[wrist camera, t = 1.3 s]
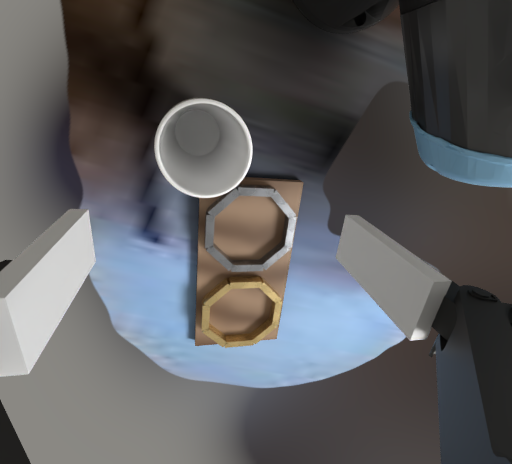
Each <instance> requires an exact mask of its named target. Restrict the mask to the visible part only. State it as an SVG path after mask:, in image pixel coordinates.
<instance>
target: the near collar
mask: <svg viewBox="0 0 512 464" xmlns="http://www.w3.org/2000/svg"><path fill="white" fill-rule="evenodd" d="M239 196H261V197H271V198H272V199H273V200H274V201H275V202H276V204H277V205H278V206H279V207H280V208H281V210H282V211H283V212H284V213H285V214H286V215H285V221H284V228H283V234H282V241H281V242H280V243H279V244H278V245H276V246H275V247H274V248H273V249H272V250H270V251H269V252H268V253H267V254H266V255H264V256H263V257H262V258H261V259H249V260H232V259H230V258H229V257H228V256H227V255H226V254H225V253H224V252H223V251H222V250H221V249H220V248H219V247H218V246H217V245H216V244H215V243H213V241H214V223H215V216H217V215H218V214H219V213H220V212H221V211H222V210H224V209H225V208H226V207H227V206H228V205H229V204H230V203H232V202H233V201H234V200H235V199H236V198H237V197H239ZM295 215H296V214H295V213H294V211H293V210H292V209H291V208H290V206H289V205H288V204H287V203H286V201H285V200H284V199H283V198H282V197H281V195H280V194H279V193H278V192H277V190H276V189H275V188H274V187H271V186H265V185H244V184H238V185H237V186H236V187H235V188H234V189H232V190H231V191H229V192H227V193H226V194H223V195H222V196H220V197H219V198H218V199H217V200H216V201H215V202H214V203H212V204H211V205H210V206H209V207H208V208H207V211H206V214H205V239H204V244H205V248H206V251H207V252H208V253H210V254H211V255H212V256H213V257H214V258H215V259H216V260H217V261H218V262H219V263H221V264H222V265H223V266H224V267H225V268H226V269H227V270H228V271H230V270H231V272H247V271H263V268H264V269H265V270H266V269H268V268H269V267H270V266H271V265H272V264H274V263H275V262H276V261H277V260H278V259H280V258H281V257H282V256H283V255H285V254H286V253H287V252H288V251H289V250H290V249H289V248H292V242H293V236H294V230H295V225H296V219H297V217H296V216H295Z"/></svg>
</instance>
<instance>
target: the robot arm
mask: <svg viewBox="0 0 512 464" xmlns="http://www.w3.org/2000/svg"><path fill="white" fill-rule="evenodd" d="M293 1H294V3H295V5H296V6H297V8H298V9H299V10H300V11H301V13H302V14H303V15H304V16H305V17H306V18H307V19H308V20H309V21H310V22H312V23H313V24H314V25H316V26H318V27H319V28H321V29H323V30H326V31H329V32H332V33H338V34H348V33H354V32H358V31H361V30H363V29H366V28H368V27H370V26H373V25H375V24H376V23H378V22H380V21H381V20H383V19H384V18H385V17H387V16H388V15H389V14H390V13H391V12H392V11H394V9H395V8H396V7H397V6H398V5H400V14H401V15H400V17H401V26H402V34H403V42H404V51H405V59H406V68H407V76H408V85H409V93H410V102H411V111H410V121H411V124H412V126H413V127H414V131H415V136H416V142H417V147H418V152H419V155H420V157H421V159H422V160H423V162H424V163H425V164H426V165H427V166H428V167H430V168H431V169H433V170H435V171H438V172H439V174H441V175H443V176H445V177H448V178H451V179H453V180H457V181H461V182H464V183H469V184H476V185H482V186H492V187H512V0H293ZM336 259H337V260H338V261H339V262H340V263H341V264H342V265H343V267H344V268H345V269H346V270H347V271H348V272H349V273H350V274H351V275H352V277H353V278H354V279H355V280H356V281H357V282H358V283H359V284H360V285H361V287H362V288H363V289H364V290H365V291H366V292H367V293H368V294H369V295H370V297H371V298H372V299H373V300H374V301H375V302H376V303H377V304H378V305H379V307H380V308H381V309H382V310H383V311H384V312H385V313H386V314H387V316H388V317H389V318H390V319H391V320H392V321H393V322H394V323H395V324H396V326H397V327H398V328H399V329H400V330H401V331H402V332H403V333H404V334H405V336H406V337H407V338H408V339H409V340H410V341H411V340H422V339H427V336H428V334H429V332H430V330H431V327H433V328H434V329H435V330H436V331H437V332H438V333H439V334H438V336H437V338H436V341H435V343H434V345H433V347H432V349H431V352H430V354H429V356H430V357H432V356H433V354H435V353H436V365H437V384H438V385H437V386H438V408H439V429H440V449H441V450H440V451H441V464H512V304H507V303H501V301H500V300H499V299H498V298H497V297H496V296H495V295H493V294H491V293H490V292H488V291H486V290H483V289H480V288H478V287H474V286H468V285H463V286H458V285H457V284H456V283H454V282H453V281H451V280H450V279H448V278H447V277H446V276H444V275H443V274H441V273H440V272H438V271H437V270H436V269H434V268H433V267H431V266H430V265H429V264H427V263H426V262H424V261H423V260H422V259H420V258H418V257H417V256H415V255H414V254H412V253H411V252H410V251H408V250H407V249H405V248H404V247H403V246H401V245H400V244H398V243H397V242H395V241H394V240H393V239H391V238H390V237H388V236H387V235H385V234H384V233H383V232H381V231H380V230H378V229H377V228H376V227H374V226H373V225H371V224H370V223H369V222H367V221H366V220H364V219H363V218H361V217H360V216H358V215H346V217H345V221H344V225H343V229H342V234H341V238H340V242H339V246H338V250H337V255H336ZM95 262H96V259H95V252H94V246H93V239H92V232H91V225H90V218H89V212H88V209H69V210H68V211H67V212H66V213H65V214H64V215H63V216H62V217H60V218H59V219H58V220H57V221H56V222H55V223H54V224H53V225H51V226H50V227H49V228H48V229H47V230H46V231H45V232H44V233H43V234H42V235H40V236H39V237H38V238H37V239H36V240H35V241H34V242H33V243H31V244H30V245H29V246H28V247H27V248H26V249H25V250H24V251H23V252H21V253H20V254H19V255H18V256H17V257H16V258H15V259H14V260H5V261H2V262H0V377H2V376H14V375H25V374H29V373H30V371H31V369H32V368H33V366H34V364H35V363H36V361H37V359H38V358H39V356H40V354H41V353H42V351H43V349H44V348H45V346H46V344H47V343H48V341H49V339H50V338H51V336H52V334H53V332H54V331H55V329H56V327H57V326H58V324H59V322H60V321H61V319H62V317H63V316H64V314H65V312H66V311H67V309H68V307H69V306H70V304H71V302H72V301H73V299H74V297H75V296H76V294H77V292H78V290H79V289H80V287H81V285H82V284H83V282H84V280H85V279H86V277H87V275H88V274H89V272H90V270H91V269H92V267H93V265H94V264H95ZM0 464H31V463H30V461H29V459H28V457H27V455H26V453H25V451H24V448H23V446H22V444H21V442H20V440H19V438H18V436H17V434H16V432H15V430H14V428H13V426H12V423H11V421H10V419H9V417H8V415H7V413H6V411H5V409H4V407H3V405H2V403H1V400H0Z"/></svg>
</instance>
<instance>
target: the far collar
mask: <svg viewBox="0 0 512 464" xmlns="http://www.w3.org/2000/svg"><path fill="white" fill-rule="evenodd" d="M243 288H260V289H261V290H262V291H263V292H264V293H265V294H266V295H267V296H269V297H270V298H271V299H272V305H271V312H270V318H269V319H268V320H266V321H265V322H264V323H263V324H261V325H260V326H259V327H258V328H256V329H255V330H254V331H253V332H251V333H247V334H234V335H225V334H223V333H222V332H221V331H219V330H218V329H217V328H215V327H214V326H213V325H211V324H210V323H209V316H210V306H211V305H213V304H214V303H215V302H216V301H218V300H219V299H220V298H221V297H222V296H224V295H225V294H226V293H227V292H228V291H230V290H231V289H243ZM281 306H282V299H281V297H280V295H279V293H278V292H277V291H275V290H274V289H273V288H272V287H271V286H270V285H269V284H268V283H267V282H266V281H265V280H264V279H263V278H262V277H259V276H240V277H229V280H228V279H227V278H225V279H224V280H223V281H222V282H221V283H220V284H218V285H217V286H216V287H215V288H214V289H212V290H211V291H210V292H209V293H208V294H206V295H205V296H204V297H203V299H202V313H201V329H202V333H204V334H205V335H207V336H208V337H209V338H211V339H212V340H214V341H215V342H216V343H218V344H219V345H220V346H222V347H224V346H225V348H227V347H238V346H249V345H253V343H254V344H256V343H258V342H259V341H260V340H261V339H263V338H264V337H265V336H266V335H268V334H269V333H270V332H271V331H273V330H274V329H275V328H276V327H277V325H278V324H279V318H280V312H281Z"/></svg>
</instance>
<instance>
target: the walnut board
mask: <svg viewBox="0 0 512 464" xmlns="http://www.w3.org/2000/svg"><path fill="white" fill-rule="evenodd" d="M239 184H244V185H265V186H271V187H274V188H275V189H276V190H277V192H278V193H279V194H280V195H281V197H282V198H283V199H284V200H285V201H286V203H287V204H288V205H289V206H290V208H291V209H292V210H293V211H294V213H295V214H296V215H295V216H296V217H298V211H299V205H300V199H301V194H302V188H303V182H302V181H300V180H287V179H269V178H251V177H244V178H243V180H242V181H241V182H240V183H239ZM220 196H222V195H220ZM220 196H217V197H212V198H199V224H198V257H197V290H196V323H195V346H201V345H212V344H218V343H216V342H215V341H214V340H212V339H211V338H209V337H208V336H207V335H205V334H204V333H202V329H201V313H202V299H203V297H204V296H205V295H206V294H208V293H209V292H210V291H211V290H212V289H214V288H215V287H216V286H217V285H218V284H220V283H221V282H222V281H223V280H224V279H225V278H227V279H228V280H229V277H240V276H259V277H262V278H263V279H264V280H265V281H266V282H267V283H268V284H269V285H270V286H271V287H272V288H273V289H274V290H275V291H277V292H278V293H279V295H280V297H281V299H282V304H283V298H284V292H285V287H286V281H287V275H288V269H289V263H290V258H291V252H292V248H289V249H290V250H289V251H288V252H287V253H286V254H285V255H283V256H282V257H281V258H280V259H278V260H277V261H276V262H275V263H274V264H272V265H271V266H270V267H269V268H268V269H266V270H265V269H264V268H263V271H247V272H231V270H230V271H228V270H227V269H226V268H225V267H224V266H223V265H222V264H221V263H219V262H218V261H217V260H216V259H215V258H214V257H213V256H212V255H211V254H210V253H208V252H207V251H206V248H205V244H204V239H205V214H206V211H207V208H208V207H209V206H210V205H211V204H212V203H214V202H215V201H216V200H217V199H218V198H219V197H220ZM285 215H286V214H285V213H284V212H283V211H282V210H281V208H280V207H279V206H278V205H277V204H276V202H275V201H274V200H273V199H272V198H271V197H261V196H239V197H237V198H236V199H235V200H234V201H233V202H232V203H230V204H229V205H228V206H227V207H226V208H225V209H224V210H222V211H221V212H220V213H219V214H218V215H217V216H215V223H214V241H213V243H215V244H216V245H217V246H218V247H219V248H220V249H221V250H222V251H223V252H224V253H225V254H226V255H227V256H228V257H229V258H230V259H232V260H249V259H261V258H262V257H263V256H264V255H266V254H267V253H268V252H269V251H270V250H272V249H273V248H274V247H275V246H276V245H278V244H279V243H280V242H281V241H282V234H283V228H284V221H285ZM296 223H297V219H296ZM295 228H296V225H295ZM294 234H295V230H294ZM293 240H294V236H293ZM292 246H293V242H292ZM271 305H272V299H271V298H270V297H269V296H267V295H266V294H265V293H264V292H263V291H262V290H261V289H260V288H243V289H231V290H230V291H228V292H227V293H226V294H225V295H224V296H222V297H221V298H220V299H219V300H218V301H216V302H215V303H214V304H213V305H211V306H210V316H209V323H210V324H211V325H213V326H214V327H215V328H217V329H218V330H219V331H221V332H222V333H223V334H225V335H234V334H247V333H251V332H253V331H254V330H255V329H256V328H258V327H259V326H260V325H261V324H263V323H264V322H265V321H266V320H268V319H269V318H270V312H271ZM281 310H282V306H281ZM280 316H281V312H280ZM279 322H280V318H279ZM278 327H279V324H278V325H277V327H276V328H275V329H274V330H273V331H271V332H270V333H269V334H268V335H266V336H265V337H264V338H263V339H261V340H270V339H277V333H278Z"/></svg>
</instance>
